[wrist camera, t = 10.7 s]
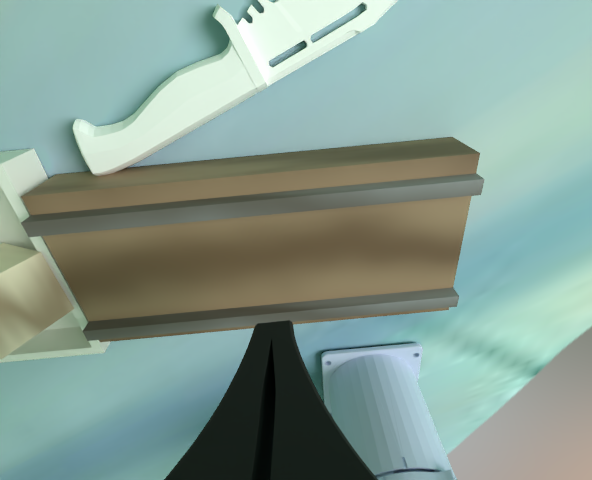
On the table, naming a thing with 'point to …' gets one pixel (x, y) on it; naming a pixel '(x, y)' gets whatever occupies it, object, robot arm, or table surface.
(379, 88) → the table surface
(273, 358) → the robot arm
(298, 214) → the slot block
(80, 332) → the tray
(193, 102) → the knife
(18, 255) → the beige cube
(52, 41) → the table surface
